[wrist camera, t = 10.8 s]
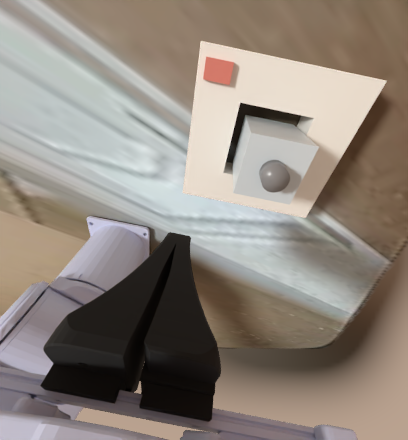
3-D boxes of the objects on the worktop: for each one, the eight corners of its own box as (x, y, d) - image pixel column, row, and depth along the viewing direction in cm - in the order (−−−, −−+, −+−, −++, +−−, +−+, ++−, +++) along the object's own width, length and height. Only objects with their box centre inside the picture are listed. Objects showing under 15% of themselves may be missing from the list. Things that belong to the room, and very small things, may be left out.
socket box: (297, 202, 22) (306, 220, 19) (187, 180, 21) (181, 195, 19) (363, 79, 15) (390, 81, 12) (205, 45, 15) (200, 40, 12)
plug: (273, 166, 20) (294, 214, 13) (232, 157, 20) (233, 202, 13) (290, 122, 17) (327, 153, 11) (244, 112, 17) (252, 138, 11)
